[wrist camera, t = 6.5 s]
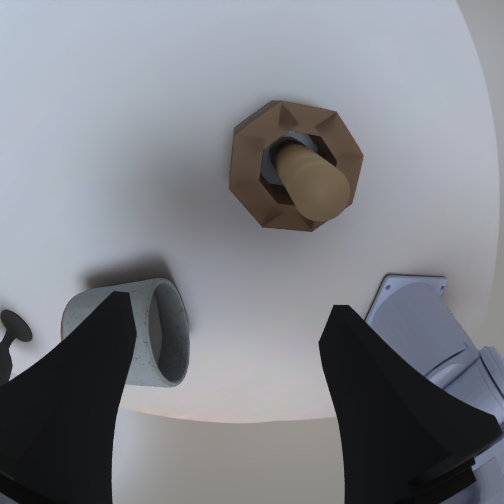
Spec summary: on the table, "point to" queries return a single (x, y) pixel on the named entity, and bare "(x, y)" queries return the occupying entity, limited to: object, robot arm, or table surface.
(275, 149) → the dowel
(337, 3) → the table surface
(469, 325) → the table surface
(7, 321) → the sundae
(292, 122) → the bead
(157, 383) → the ceramic mug
